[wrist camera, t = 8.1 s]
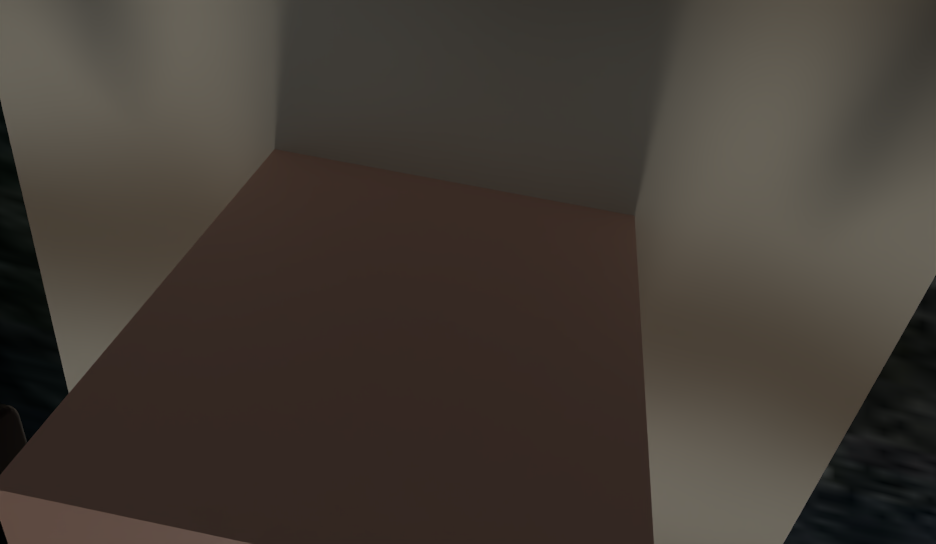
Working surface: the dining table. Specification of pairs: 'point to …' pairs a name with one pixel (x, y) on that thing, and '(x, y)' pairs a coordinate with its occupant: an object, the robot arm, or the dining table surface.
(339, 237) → the terracotta block
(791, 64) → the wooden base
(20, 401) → the dining table surface
